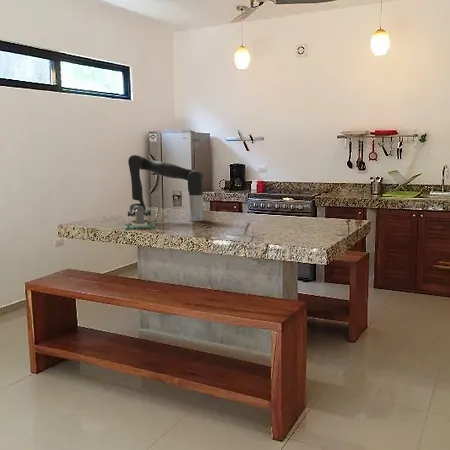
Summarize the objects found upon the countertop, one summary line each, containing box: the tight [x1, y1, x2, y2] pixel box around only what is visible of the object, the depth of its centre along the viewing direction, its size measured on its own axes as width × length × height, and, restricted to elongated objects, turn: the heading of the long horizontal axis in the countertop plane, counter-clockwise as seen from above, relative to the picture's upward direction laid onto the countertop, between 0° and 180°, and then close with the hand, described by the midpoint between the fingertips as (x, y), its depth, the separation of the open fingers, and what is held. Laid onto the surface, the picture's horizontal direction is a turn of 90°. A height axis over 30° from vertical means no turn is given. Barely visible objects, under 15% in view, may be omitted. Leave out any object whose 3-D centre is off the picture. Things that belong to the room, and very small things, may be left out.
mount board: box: [124, 221, 156, 230], centre depth 314 cm, size 18×14×3 cm
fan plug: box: [134, 208, 145, 224], centre depth 313 cm, size 5×4×11 cm
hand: (139, 214), depth 312 cm, fingers open, 8 cm apart
